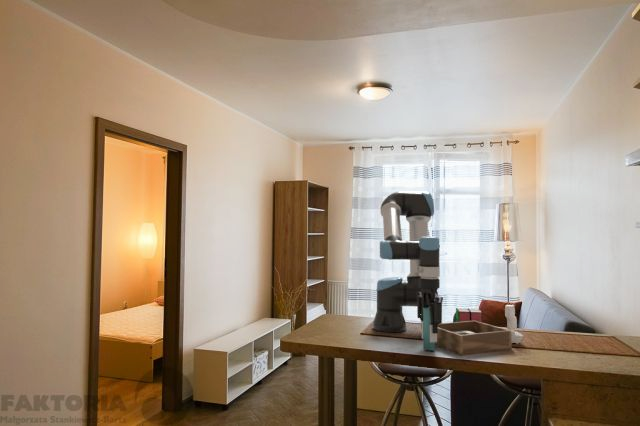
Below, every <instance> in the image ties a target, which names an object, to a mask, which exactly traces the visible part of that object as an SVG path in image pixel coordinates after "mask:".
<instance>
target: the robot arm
mask: <svg viewBox="0 0 640 426" xmlns="http://www.w3.org/2000/svg"><path fill="white" fill-rule="evenodd" d="M434 214H435V205H434V198H433V196H432V194H431V193H430V192H428V191H421V190H420V191H395V192H392V193H390V194H389V195H388V196H386V197H385V198H384V200H383V201H382V202H381V205H380V216H381V217H382V223H383V224H382V225H383V240H381V241H380V242H379V257H380V259H382V260H409V274H407V276H406V279H405V280H403V279H404V278H403V277H402V276H391V277H384V278H381V279H378V280H377V282H376V313H375V315H374V318H373V322H372V329H373V330H375V331H379V332H384V333H385V332H386V333H401V332H404V331H407V323H406V319H405V317H404V313H403V307H417V311H416V312H417V314H416V315H417V319H419V320H420V323H421V324H420V325H421V326H420V327H421V339H422V340H423V308H427V307H429V309H430V317H431V323H430V342H437V333H438V324H441V323H443V301H444V298H443V296H440V295H439V293H438V289H440V277H441V276H440V275H441V274H440V268H441V267H440V247H441V245H440V238H439V237H437V236H429V226H428V225H429V224H428V223H429V222H430V221H431V220H432V216H434ZM402 216H404V217H405V220H406V221H407V222H408V224H409V225H408V226H409V227H408V228H409V229H408V230H409V232H408V233H409V240H403V237H402V236H403V235H402V227H401V225H402V224H401V217H402Z"/></svg>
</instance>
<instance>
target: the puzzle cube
mask: <svg viewBox="0 0 640 426" xmlns="http://www.w3.org/2000/svg"><path fill="white" fill-rule="evenodd" d="M463 321H478V322H481V323H483V312H482V311H481V310H480V309H479V308H472V307H469V308H467V307H456V308H455V322H463Z"/></svg>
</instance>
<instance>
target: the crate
mask: <svg viewBox="0 0 640 426" xmlns="http://www.w3.org/2000/svg"><path fill="white" fill-rule="evenodd" d="M436 346H437V347H439V348H441V349H443V350H446V351H448V350H449V352H451V353H453V352H454V354H456V355H458V354H459V356H467V355H474V354H475V355H477V354H483V353H492V352H493V353H494V352H499V351H500V352H501V351H509V350H512V349H513V348H512V344H511V330H507V328H503V327H499V326H496V325H492V324H489V323H485V322H482V323H481V322H478V321H463V322H456V321H454V322H442V323H441V324H438V333H437V342H435V347H436Z"/></svg>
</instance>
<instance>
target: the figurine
mask: <svg viewBox="0 0 640 426" xmlns="http://www.w3.org/2000/svg"><path fill="white" fill-rule="evenodd" d="M515 314H516V308H515V304H506V305H505V306H504V315H505V317H506V321H507V322H506V323H507V324H506V325H507V327H506V329H507V330H511V343H517V344H516V345H519V344H520V342H521V340H522V339H523V337H524V335H523V334H522V333H520V332H519V331H515V330H516V329H517V328H518V323H517V322H518V320H517V318H518V317H517V316H515Z"/></svg>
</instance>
